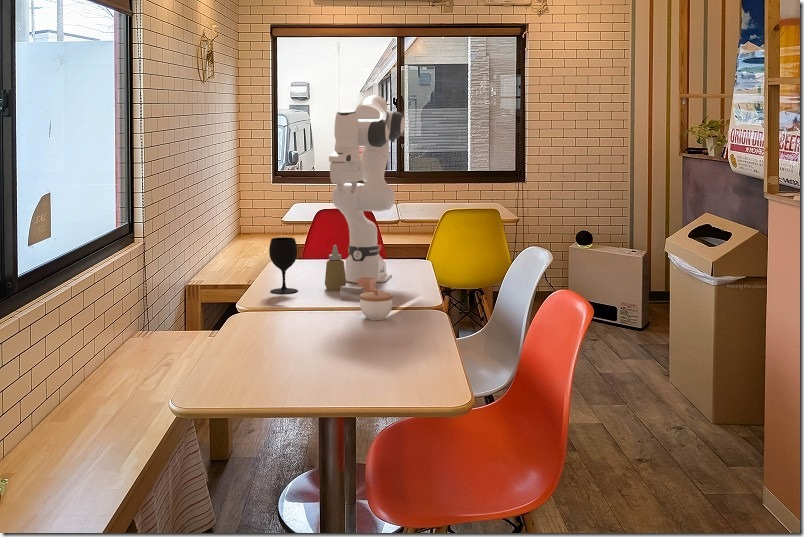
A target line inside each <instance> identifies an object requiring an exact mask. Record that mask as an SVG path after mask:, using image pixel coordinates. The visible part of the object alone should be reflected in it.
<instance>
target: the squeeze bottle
mask: <svg viewBox="0 0 804 537" xmlns="http://www.w3.org/2000/svg"><path fill="white" fill-rule="evenodd" d="M331 250H332V251H331V254H328V260H326V263H325V264H326V266H325V277H324V278H325V279H324V285H325V289H326V290H327V291H330V292H331V291H332V292H340V287H342V286H347V281H346V276H345V260H343V259H342V254H339V250H338V245H337V244H334V245H332V249H331Z"/></svg>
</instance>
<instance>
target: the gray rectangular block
mask: <svg viewBox="0 0 804 537" xmlns="http://www.w3.org/2000/svg"><path fill="white" fill-rule="evenodd" d="M378 292H384V290H378ZM362 293H364V287H357V286H354V285H353V286H352V285H351V286H350V285H346V286H342V287H340V291H339V297H338V299H343V300H356V301H360V294H362Z"/></svg>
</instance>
